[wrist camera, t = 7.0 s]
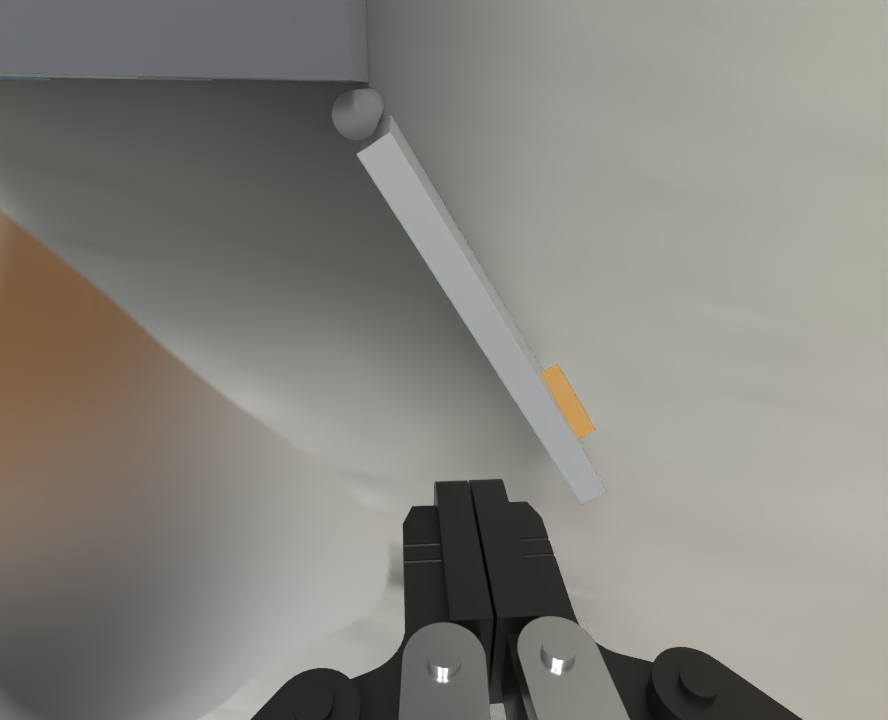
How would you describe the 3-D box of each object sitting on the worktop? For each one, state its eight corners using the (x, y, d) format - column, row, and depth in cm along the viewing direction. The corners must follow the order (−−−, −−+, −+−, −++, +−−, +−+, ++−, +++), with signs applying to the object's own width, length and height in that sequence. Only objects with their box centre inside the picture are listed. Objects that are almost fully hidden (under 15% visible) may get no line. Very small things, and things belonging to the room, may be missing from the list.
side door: (526, 384, 22) (581, 508, 16) (348, 98, 17) (321, 106, 11) (559, 366, 22) (627, 484, 15) (388, 71, 17) (386, 62, 10)
